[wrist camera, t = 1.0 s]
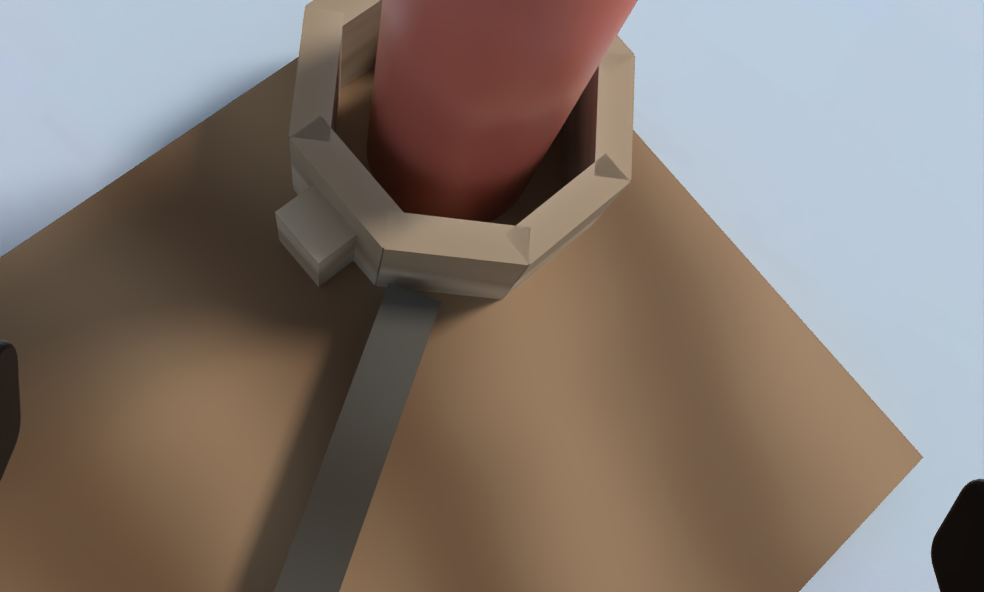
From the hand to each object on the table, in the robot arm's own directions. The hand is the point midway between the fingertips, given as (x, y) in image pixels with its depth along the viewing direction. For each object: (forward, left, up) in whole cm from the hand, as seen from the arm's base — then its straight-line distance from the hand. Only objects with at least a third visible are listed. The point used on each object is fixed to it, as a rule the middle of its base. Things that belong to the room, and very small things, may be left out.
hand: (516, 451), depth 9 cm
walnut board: (0, +1, -13) cm, 13 cm away
